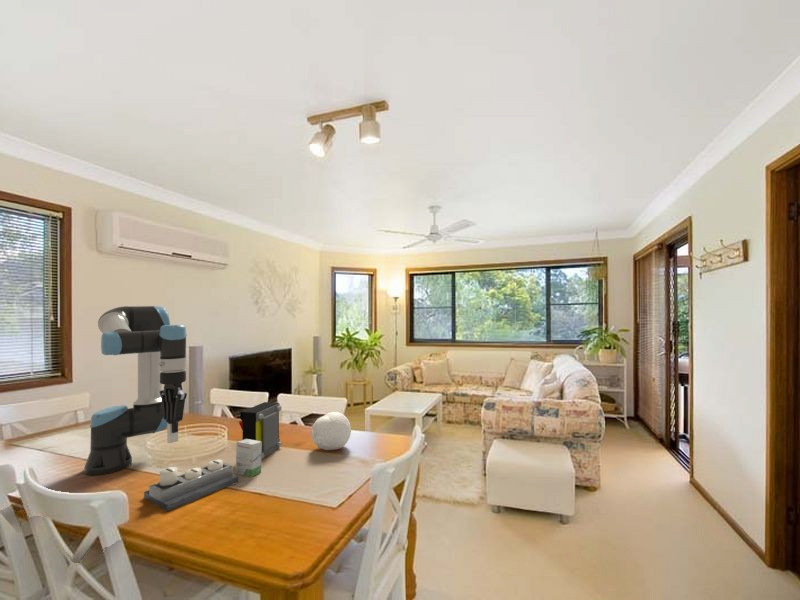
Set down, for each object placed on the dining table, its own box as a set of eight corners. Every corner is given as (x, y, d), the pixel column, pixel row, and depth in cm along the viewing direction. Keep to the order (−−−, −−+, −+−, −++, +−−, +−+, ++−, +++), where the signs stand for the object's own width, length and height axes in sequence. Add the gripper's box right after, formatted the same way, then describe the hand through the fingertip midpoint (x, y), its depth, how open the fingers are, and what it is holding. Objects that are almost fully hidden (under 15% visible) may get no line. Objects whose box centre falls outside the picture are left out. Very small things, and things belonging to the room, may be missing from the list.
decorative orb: (362, 446, 170) (362, 411, 171) (335, 460, 155) (335, 421, 156) (329, 439, 181) (329, 406, 181) (301, 451, 166) (301, 414, 166)
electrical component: (260, 462, 154) (260, 413, 155) (238, 460, 157) (238, 411, 157) (283, 447, 171) (283, 402, 172) (263, 445, 174) (263, 402, 174)
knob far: (204, 474, 137) (204, 462, 137) (218, 469, 141) (218, 457, 141) (212, 477, 134) (212, 465, 134) (225, 472, 138) (225, 460, 139)
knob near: (156, 483, 124) (156, 470, 124) (172, 477, 128) (173, 465, 128) (164, 487, 121) (164, 473, 121) (180, 481, 125) (180, 468, 125)
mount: (143, 498, 125) (143, 482, 126) (214, 472, 145) (214, 458, 146) (167, 511, 116) (167, 495, 117) (238, 481, 137) (238, 467, 137)
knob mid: (182, 483, 130) (182, 470, 130) (196, 477, 134) (196, 465, 135) (189, 486, 128) (189, 474, 128) (204, 481, 132) (204, 468, 132)
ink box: (235, 473, 144) (235, 442, 144) (246, 468, 149) (245, 437, 149) (251, 477, 140) (251, 445, 141) (262, 471, 145) (262, 440, 145)
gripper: (151, 371, 127) (150, 441, 126) (171, 373, 120) (171, 449, 119) (174, 368, 133) (174, 435, 133) (194, 370, 126) (194, 441, 126)
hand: (172, 441), depth 126 cm, fingers closed
